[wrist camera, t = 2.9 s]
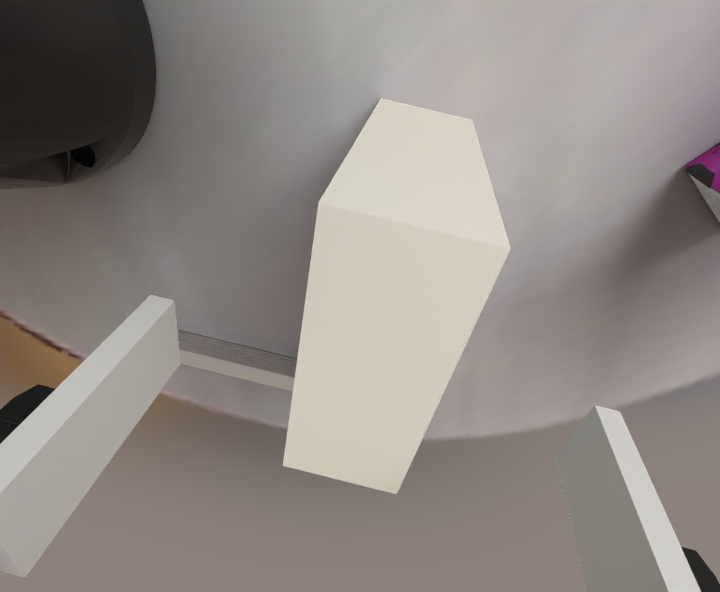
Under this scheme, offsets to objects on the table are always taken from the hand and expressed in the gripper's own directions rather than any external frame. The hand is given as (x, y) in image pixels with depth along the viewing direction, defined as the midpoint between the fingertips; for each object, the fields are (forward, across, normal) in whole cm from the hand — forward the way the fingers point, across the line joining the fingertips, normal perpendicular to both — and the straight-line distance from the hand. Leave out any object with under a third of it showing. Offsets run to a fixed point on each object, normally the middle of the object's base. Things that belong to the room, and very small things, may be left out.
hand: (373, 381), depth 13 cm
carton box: (+13, 0, 0) cm, 13 cm away
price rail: (+13, -7, -14) cm, 20 cm away
